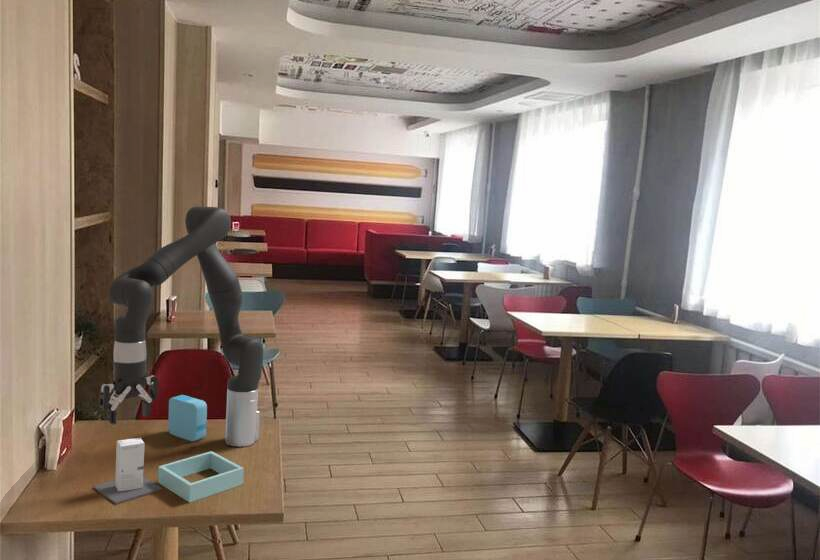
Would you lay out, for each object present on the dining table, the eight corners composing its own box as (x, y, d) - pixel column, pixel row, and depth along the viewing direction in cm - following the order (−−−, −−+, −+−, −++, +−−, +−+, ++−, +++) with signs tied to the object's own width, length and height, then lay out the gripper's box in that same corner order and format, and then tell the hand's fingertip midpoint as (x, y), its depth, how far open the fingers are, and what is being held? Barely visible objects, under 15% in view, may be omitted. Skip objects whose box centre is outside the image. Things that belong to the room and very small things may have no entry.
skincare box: (118, 492, 166) (119, 446, 164) (114, 485, 170) (115, 440, 168) (144, 488, 170) (145, 442, 168) (139, 481, 173) (140, 436, 172)
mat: (138, 474, 178) (138, 473, 178) (161, 490, 170) (161, 488, 170) (93, 487, 169) (93, 486, 169) (116, 504, 161) (116, 502, 161)
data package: (206, 438, 206) (207, 401, 204) (195, 443, 202) (196, 405, 201) (179, 429, 212) (180, 393, 210) (167, 433, 208) (168, 396, 206)
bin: (211, 466, 186) (211, 451, 186) (243, 484, 177) (243, 468, 176) (158, 482, 174) (158, 466, 174) (189, 502, 165) (190, 485, 164)
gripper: (149, 350, 173) (148, 410, 175) (94, 358, 162) (94, 422, 164) (164, 356, 168) (163, 417, 170) (108, 365, 157) (108, 430, 159)
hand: (129, 419), depth 167 cm, fingers open, 8 cm apart
